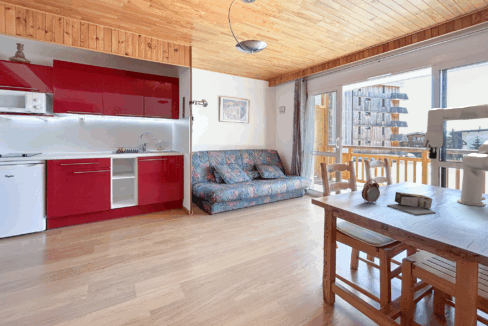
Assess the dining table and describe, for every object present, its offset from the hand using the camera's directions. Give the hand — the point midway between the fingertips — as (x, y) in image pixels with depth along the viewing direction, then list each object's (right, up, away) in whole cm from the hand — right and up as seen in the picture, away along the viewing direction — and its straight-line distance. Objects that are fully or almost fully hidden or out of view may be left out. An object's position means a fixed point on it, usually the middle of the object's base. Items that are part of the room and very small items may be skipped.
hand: (432, 158), depth 145 cm
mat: (-22, -30, -10) cm, 38 cm away
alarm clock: (-37, -29, +4) cm, 47 cm away
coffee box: (-8, -26, -6) cm, 28 cm away
